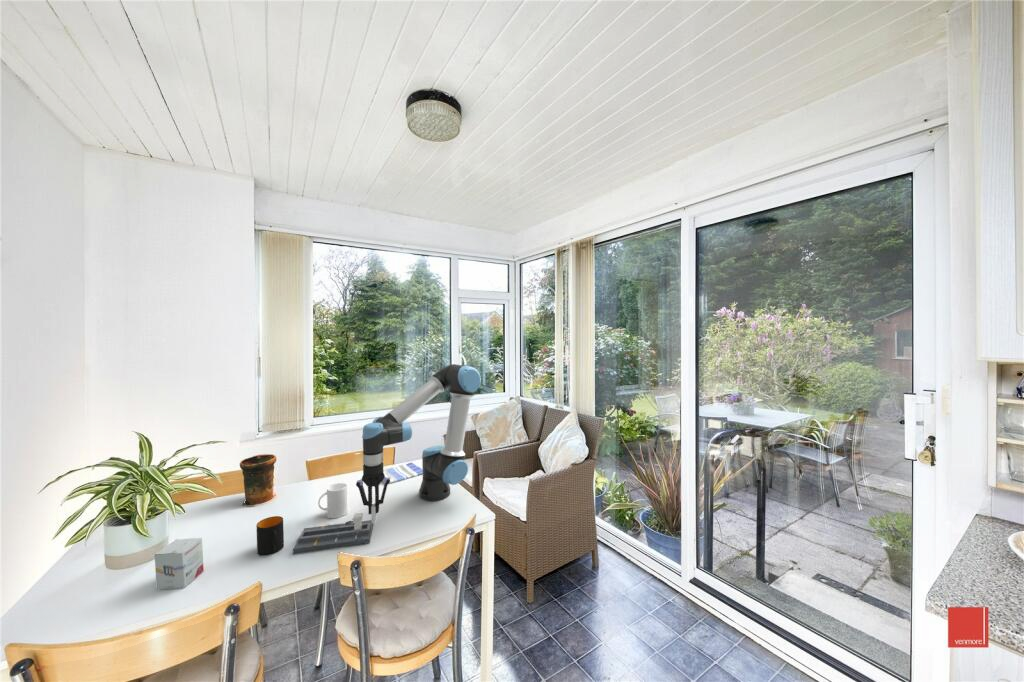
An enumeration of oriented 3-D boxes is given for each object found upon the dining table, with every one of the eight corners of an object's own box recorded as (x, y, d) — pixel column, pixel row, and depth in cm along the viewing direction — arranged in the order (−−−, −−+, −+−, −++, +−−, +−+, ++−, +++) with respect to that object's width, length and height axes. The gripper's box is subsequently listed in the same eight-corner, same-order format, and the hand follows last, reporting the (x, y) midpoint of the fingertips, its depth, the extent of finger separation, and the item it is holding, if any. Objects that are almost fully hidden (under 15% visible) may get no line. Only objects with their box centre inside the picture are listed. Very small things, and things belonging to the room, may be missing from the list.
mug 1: (263, 563, 128) (262, 534, 127) (254, 549, 136) (253, 522, 135) (290, 552, 134) (289, 525, 133) (280, 539, 142) (279, 513, 141)
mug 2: (319, 522, 154) (318, 494, 154) (317, 513, 162) (317, 487, 161) (349, 515, 160) (349, 488, 160) (346, 506, 168) (346, 481, 167)
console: (373, 524, 153) (373, 517, 153) (369, 543, 139) (369, 535, 139) (304, 533, 146) (304, 525, 146) (293, 554, 133) (292, 545, 133)
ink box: (177, 572, 123) (176, 537, 123) (204, 570, 124) (203, 536, 124) (154, 590, 115) (153, 553, 114) (184, 588, 116) (182, 552, 115)
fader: (362, 526, 147) (362, 512, 147) (361, 532, 143) (361, 517, 143) (354, 527, 146) (354, 513, 146) (353, 533, 142) (352, 518, 142)
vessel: (279, 501, 172) (276, 459, 171) (241, 511, 164) (238, 467, 163) (278, 490, 184) (275, 451, 183) (242, 498, 176) (240, 457, 175)
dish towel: (372, 476, 203) (372, 471, 203) (412, 465, 218) (412, 461, 218) (384, 486, 190) (384, 481, 190) (426, 474, 205) (426, 469, 205)
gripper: (391, 458, 150) (391, 514, 151) (357, 460, 147) (357, 518, 148) (389, 464, 143) (390, 523, 144) (353, 467, 140) (354, 528, 141)
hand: (373, 521), depth 146 cm, fingers closed
